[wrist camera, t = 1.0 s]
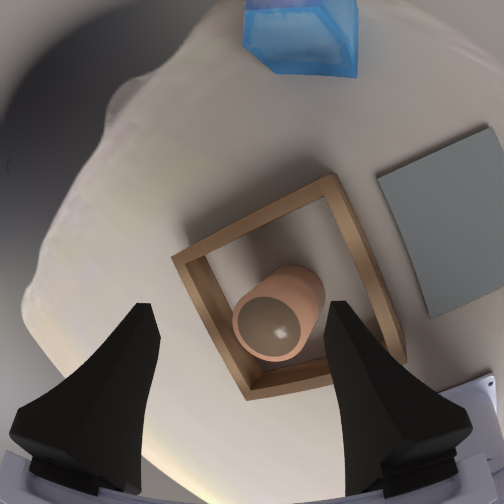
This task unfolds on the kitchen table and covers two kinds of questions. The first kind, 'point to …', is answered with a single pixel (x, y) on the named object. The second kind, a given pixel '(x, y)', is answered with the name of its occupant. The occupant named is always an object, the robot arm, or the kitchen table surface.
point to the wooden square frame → (220, 315)
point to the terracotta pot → (279, 313)
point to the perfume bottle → (303, 36)
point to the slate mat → (453, 219)
